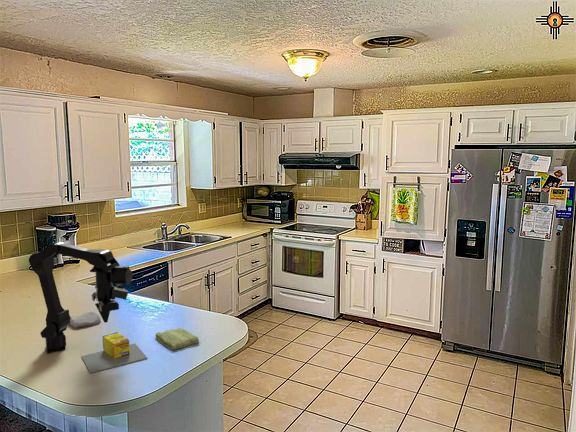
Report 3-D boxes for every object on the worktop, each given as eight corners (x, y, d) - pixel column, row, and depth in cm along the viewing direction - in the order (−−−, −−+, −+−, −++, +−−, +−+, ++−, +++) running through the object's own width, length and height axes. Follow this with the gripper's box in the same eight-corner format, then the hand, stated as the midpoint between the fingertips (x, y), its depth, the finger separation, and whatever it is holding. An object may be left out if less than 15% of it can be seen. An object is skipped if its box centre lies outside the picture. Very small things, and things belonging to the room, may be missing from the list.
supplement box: (117, 331, 173) (129, 339, 166) (117, 345, 174) (130, 354, 167) (102, 335, 169) (114, 344, 162) (102, 350, 170) (115, 359, 162)
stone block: (103, 326, 201) (94, 317, 208) (103, 317, 200) (93, 308, 206) (76, 334, 193) (67, 324, 199) (76, 325, 191) (67, 315, 198)
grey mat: (90, 373, 152) (90, 372, 152) (81, 357, 165) (81, 356, 165) (147, 358, 164) (147, 357, 164) (135, 344, 177) (134, 343, 176)
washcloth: (181, 331, 191) (181, 324, 191) (201, 344, 178) (201, 336, 177) (152, 339, 183) (152, 331, 182) (171, 353, 169) (171, 345, 169)
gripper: (132, 285, 164) (133, 325, 166) (119, 274, 179) (121, 311, 181) (100, 290, 157) (102, 331, 159) (90, 278, 172) (92, 316, 174)
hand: (105, 322), depth 169 cm, fingers closed
